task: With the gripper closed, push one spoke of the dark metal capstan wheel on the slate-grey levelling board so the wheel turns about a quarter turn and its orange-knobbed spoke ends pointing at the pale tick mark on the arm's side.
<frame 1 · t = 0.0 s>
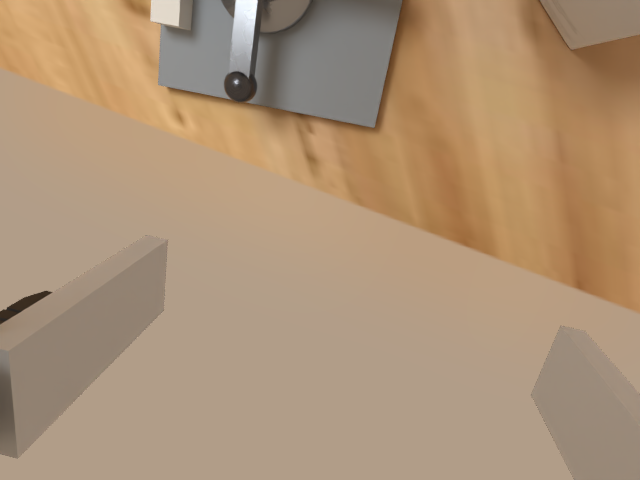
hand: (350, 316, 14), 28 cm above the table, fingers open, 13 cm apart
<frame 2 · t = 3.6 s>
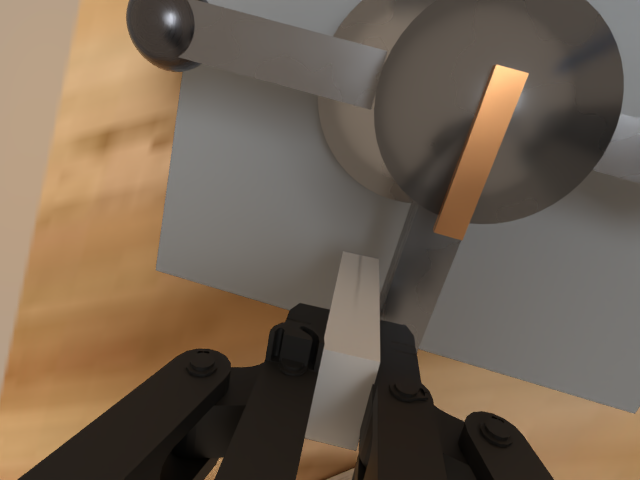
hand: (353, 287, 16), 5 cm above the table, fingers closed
capstan: (469, 107, 14), point 5 cm above the table, hinge at 0.4°, touching gripper
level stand: (460, 133, 19), on the table
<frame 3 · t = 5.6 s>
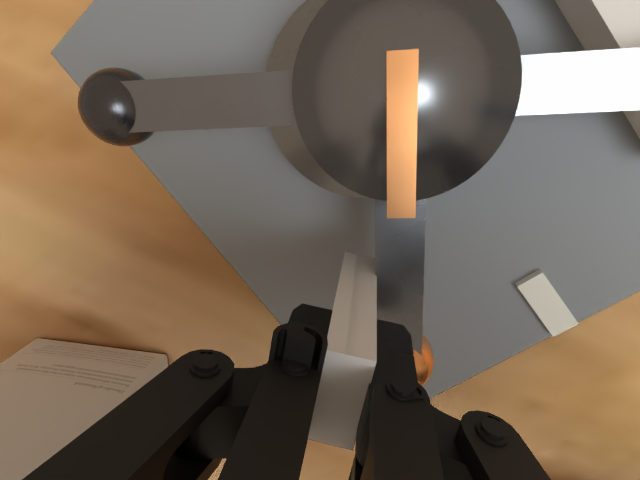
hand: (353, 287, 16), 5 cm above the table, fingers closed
supplement box: (111, 401, 28), on the table
capstan: (399, 93, 14), point 5 cm above the table, hinge at 54.5°, touching gripper
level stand: (391, 127, 19), on the table
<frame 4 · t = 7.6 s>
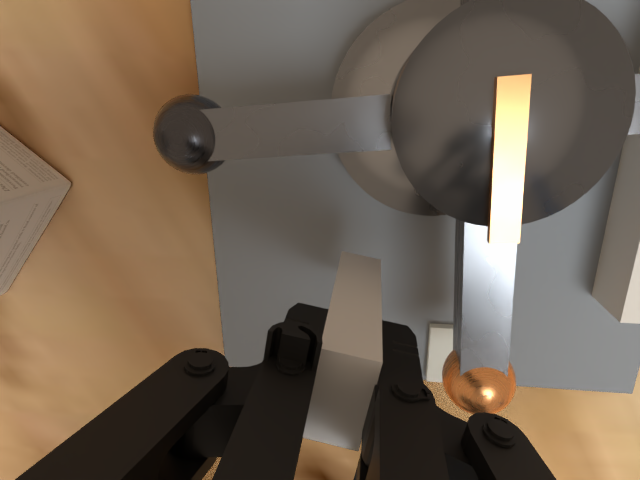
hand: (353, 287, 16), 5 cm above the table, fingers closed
capstan: (482, 112, 14), point 5 cm above the table, hinge at 93.8°
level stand: (430, 131, 19), on the table
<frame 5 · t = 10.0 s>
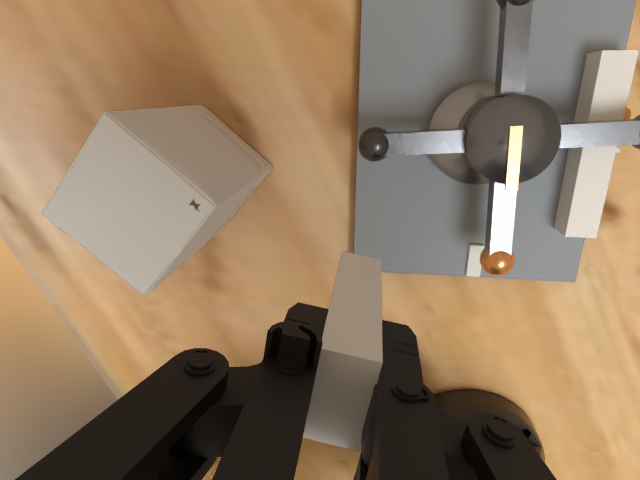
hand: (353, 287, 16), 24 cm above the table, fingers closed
supplement box: (211, 169, 41), on the table
capstan: (502, 136, 32), point 5 cm above the table, hinge at 93.8°
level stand: (473, 142, 37), on the table
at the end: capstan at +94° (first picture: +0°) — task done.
